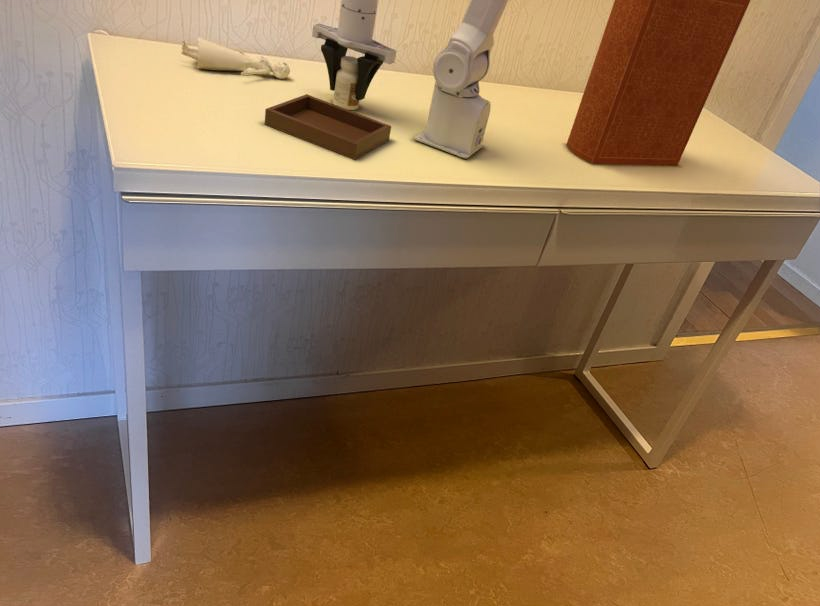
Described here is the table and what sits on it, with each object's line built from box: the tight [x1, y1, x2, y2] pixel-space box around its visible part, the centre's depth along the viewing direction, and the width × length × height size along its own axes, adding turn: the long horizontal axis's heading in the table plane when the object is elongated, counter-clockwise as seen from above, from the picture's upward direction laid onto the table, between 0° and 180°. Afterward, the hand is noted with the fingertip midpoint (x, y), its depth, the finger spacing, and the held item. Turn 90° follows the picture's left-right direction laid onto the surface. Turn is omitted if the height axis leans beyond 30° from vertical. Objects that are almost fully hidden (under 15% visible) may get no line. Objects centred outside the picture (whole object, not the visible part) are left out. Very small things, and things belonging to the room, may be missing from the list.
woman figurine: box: [181, 36, 291, 80], centre depth 120 cm, size 12×4×18 cm
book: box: [565, 0, 751, 167], centre depth 123 cm, size 23×8×30 cm, turn 117°
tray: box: [264, 93, 392, 160], centre depth 108 cm, size 16×12×2 cm
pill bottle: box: [332, 55, 360, 111], centre depth 117 cm, size 4×4×8 cm
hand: (347, 94), depth 119 cm, fingers closed on pill bottle, 4 cm apart
